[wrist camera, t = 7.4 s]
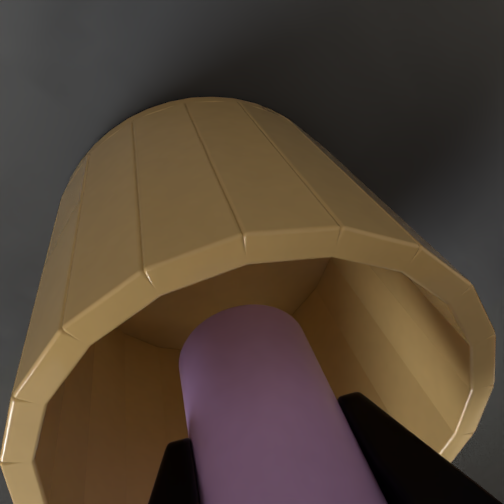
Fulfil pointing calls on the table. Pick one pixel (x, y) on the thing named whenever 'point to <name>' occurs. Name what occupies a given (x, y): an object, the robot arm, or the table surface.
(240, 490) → the glue stick
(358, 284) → the pen pot
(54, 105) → the table surface
